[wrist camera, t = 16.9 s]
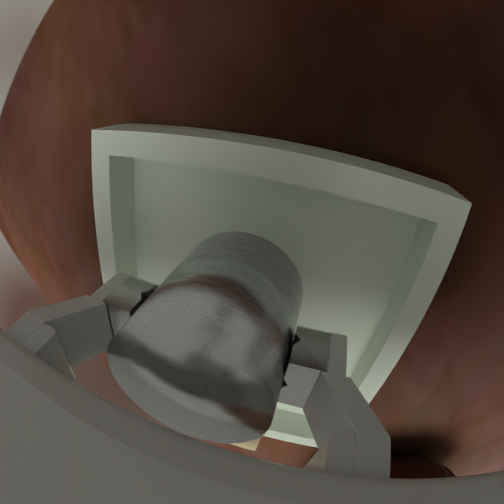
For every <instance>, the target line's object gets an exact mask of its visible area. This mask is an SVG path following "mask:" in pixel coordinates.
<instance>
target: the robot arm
mask: <svg viewBox="0 0 504 504" xmlns="http://www.w3.org/2000/svg"><path fill="white" fill-rule="evenodd" d="M157 287H158V285H156V284H154V283H151V282H148V281H145V280H142V279H140V278H137V277H134V276H131V275H128V274H125V273H123V272H119V273H116V274H115V275H114V276H113V277H112V278H110V279H109V280H108V281H107V282H106V283H105V284H104V285H102V286H101V287H100V288H99V289H98V290H97V291H96V292H94V293H93V294H92V295H91V296H88V295H85V296H81V297H78V298H74V299H70V300H67V301H63V302H60V303H56V304H53V305H49V306H46V307H42V308H38V309H35V310H31V311H28V312H27V313H26V314H25V315H24V316H23V317H21V318H20V319H19V320H18V321H17V322H16V323H15V324H14V325H12V326H11V327H10V328H9V329H8V330H7V331H6V332H5V331H3V330H2V329H1V328H0V504H504V470H503V471H498V472H491V473H485V474H478V475H469V476H459V477H447V478H425V479H397V478H390V458H391V437H390V436H389V434H388V433H387V431H386V430H385V428H384V427H383V425H382V424H381V422H380V421H379V419H378V418H377V416H376V415H375V413H374V412H373V410H372V409H371V407H370V406H369V404H368V403H367V401H366V400H365V398H364V397H363V395H362V394H361V392H360V391H359V389H358V388H357V386H356V385H355V383H354V382H353V380H352V379H351V378H350V377H346V366H347V336H346V335H341V334H336V333H331V332H330V333H329V332H325V331H321V330H317V329H312V328H308V327H304V326H300V325H297V328H296V331H295V335H294V339H293V343H292V347H291V351H290V355H289V359H288V363H287V367H286V371H285V375H284V379H283V383H282V387H281V391H280V394H279V398H278V402H280V403H283V404H287V405H291V406H295V407H299V408H303V412H304V414H305V417H306V419H307V422H308V424H309V427H310V429H311V432H312V434H313V437H314V439H315V442H316V444H317V447H318V449H319V450H318V451H317V452H316V454H315V455H314V456H313V457H312V458H311V460H310V461H309V462H308V463H307V464H306V465H305V467H304V468H297V467H292V466H287V465H283V464H278V463H274V462H270V461H265V460H261V459H258V458H254V457H250V456H246V455H243V454H239V453H236V452H233V451H229V450H226V449H223V448H220V447H217V446H214V445H211V444H208V443H205V442H202V441H199V440H196V439H194V438H191V437H188V436H186V435H183V434H180V433H178V432H175V431H173V430H170V429H168V428H166V427H163V426H161V425H159V424H156V423H154V422H152V421H149V420H147V419H145V418H143V417H141V416H139V415H136V414H134V413H132V412H130V411H128V410H126V409H124V408H122V407H120V406H118V405H116V404H114V403H112V402H110V401H109V400H107V399H105V398H103V397H101V396H99V395H97V394H96V393H94V392H92V391H90V390H89V389H87V388H85V387H83V386H82V385H80V384H79V383H77V382H76V378H75V376H74V373H73V371H72V369H71V368H72V367H74V366H76V365H78V364H80V363H82V362H84V361H87V360H88V359H91V358H93V357H95V356H97V355H99V354H101V353H103V352H105V351H107V348H108V344H109V342H110V340H111V339H112V338H113V336H114V335H115V334H116V333H117V332H118V331H119V330H120V328H121V327H122V326H123V325H124V324H125V323H126V322H127V320H128V319H129V318H130V317H131V316H132V315H133V314H134V313H135V312H136V310H137V309H138V308H139V307H140V306H141V305H142V304H143V303H144V302H145V301H146V299H147V298H148V297H149V296H150V295H151V294H152V293H153V292H154V291H155V290H156V288H157Z"/></svg>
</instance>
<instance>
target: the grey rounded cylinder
mask: <svg viewBox="0 0 504 504" xmlns="http://www.w3.org/2000/svg"><path fill="white" fill-rule="evenodd" d="M302 299H303V286H302V281H301V277H300V275H299V272H298V270H297V268H296V266H295V265H294V263H293V262H292V260H291V259H290V258H289V257H288V256H287V254H286V253H284V252H283V251H282V250H281V249H280V248H279V247H277V246H276V245H275V244H273V243H272V242H270V241H268V240H266V239H264V238H262V237H260V236H257V235H254V234H251V233H246V232H238V231H229V232H222V233H217V234H215V235H212V236H209V237H208V238H206V239H204V240H203V241H202V242H200V243H199V244H198V245H197V246H196V247H195V248H194V249H193V250H192V251H191V252H190V253H189V254H188V255H187V256H186V258H185V259H184V260H183V261H182V262H181V263H180V264H179V265H178V266H177V267H176V268H175V269H174V270H173V271H172V272H171V273H170V274H169V276H168V277H167V278H166V279H165V280H164V281H163V282H162V283H161V284H160V285H159V286H158V287H157V288H156V290H155V291H154V292H153V293H152V294H151V295H150V296H149V297H148V298H147V299H146V301H145V302H144V303H143V304H142V305H141V306H140V307H139V308H138V309H137V310H136V312H135V313H134V314H133V315H132V316H131V317H130V318H129V319H128V320H127V322H126V323H125V324H124V325H123V326H122V327H121V328H120V330H119V331H118V332H117V333H116V334H115V335H114V336H113V338H112V339H111V340H110V342H109V344H108V348H107V359H108V364H109V367H110V369H111V372H112V374H113V376H114V378H115V379H116V381H117V382H118V384H119V385H120V387H121V388H122V389H123V391H124V392H125V393H126V394H127V395H128V396H129V397H130V398H131V399H132V400H133V401H134V402H135V403H136V404H137V405H138V406H139V407H140V408H142V409H143V410H144V411H146V412H147V413H148V414H149V415H151V416H152V417H154V418H155V419H157V420H158V421H160V422H162V423H163V424H165V425H167V426H169V427H171V428H173V429H175V430H177V431H179V432H182V433H184V434H186V435H189V436H192V437H195V438H199V439H202V440H207V441H212V442H218V443H243V442H248V441H252V440H254V439H257V438H259V437H261V436H262V435H264V434H265V433H266V432H267V431H268V429H269V428H270V426H271V423H272V420H273V416H274V413H275V409H276V406H277V402H278V398H279V394H280V391H281V387H282V383H283V379H284V375H285V371H286V367H287V363H288V359H289V355H290V351H291V347H292V343H293V339H294V335H295V330H296V326H297V322H298V317H299V313H300V308H301V304H302Z"/></svg>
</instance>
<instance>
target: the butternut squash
mask: <svg viewBox="0 0 504 504" xmlns="http://www.w3.org/2000/svg"><path fill="white" fill-rule="evenodd" d="M447 477H456V476H455V475H454V474H453V473H452V471H451V470H450V469H448V468H447V467H445V466H444V465H442V464H441V463H439V462H437V461H435V460H433V459H431V458H428V457H423V456H409V457H394V456H391V458H390V478H397V479H425V478H447Z"/></svg>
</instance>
